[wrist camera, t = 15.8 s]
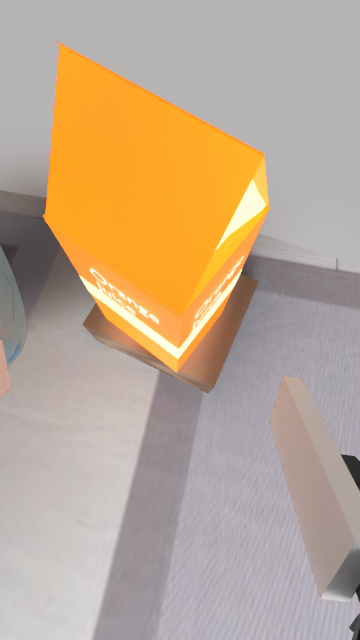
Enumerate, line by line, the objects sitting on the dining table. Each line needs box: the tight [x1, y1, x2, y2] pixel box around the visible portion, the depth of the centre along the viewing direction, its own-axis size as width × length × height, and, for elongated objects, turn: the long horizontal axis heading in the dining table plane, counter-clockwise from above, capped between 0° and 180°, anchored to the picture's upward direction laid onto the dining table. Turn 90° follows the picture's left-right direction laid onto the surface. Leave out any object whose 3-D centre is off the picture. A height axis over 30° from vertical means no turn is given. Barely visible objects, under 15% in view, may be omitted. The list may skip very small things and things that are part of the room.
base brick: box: [83, 274, 258, 393], centre depth 31 cm, size 14×12×6 cm
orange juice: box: [43, 42, 269, 372], centre depth 18 cm, size 8×9×20 cm
